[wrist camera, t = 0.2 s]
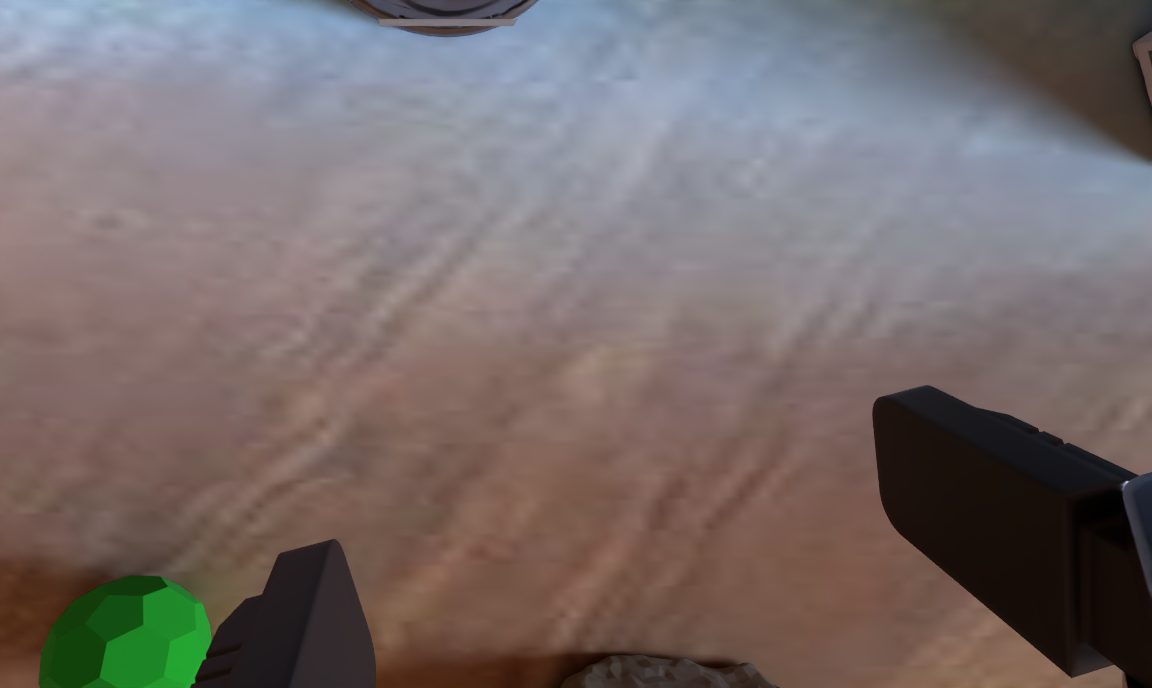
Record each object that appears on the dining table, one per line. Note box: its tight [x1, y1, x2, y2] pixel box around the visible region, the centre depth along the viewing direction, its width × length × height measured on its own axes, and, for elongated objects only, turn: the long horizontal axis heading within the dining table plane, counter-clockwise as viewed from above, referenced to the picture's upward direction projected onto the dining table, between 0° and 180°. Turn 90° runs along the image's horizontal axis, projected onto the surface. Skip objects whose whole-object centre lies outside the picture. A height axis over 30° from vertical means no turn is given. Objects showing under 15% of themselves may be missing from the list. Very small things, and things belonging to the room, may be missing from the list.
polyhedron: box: [39, 575, 211, 688], centre depth 26 cm, size 5×5×5 cm
